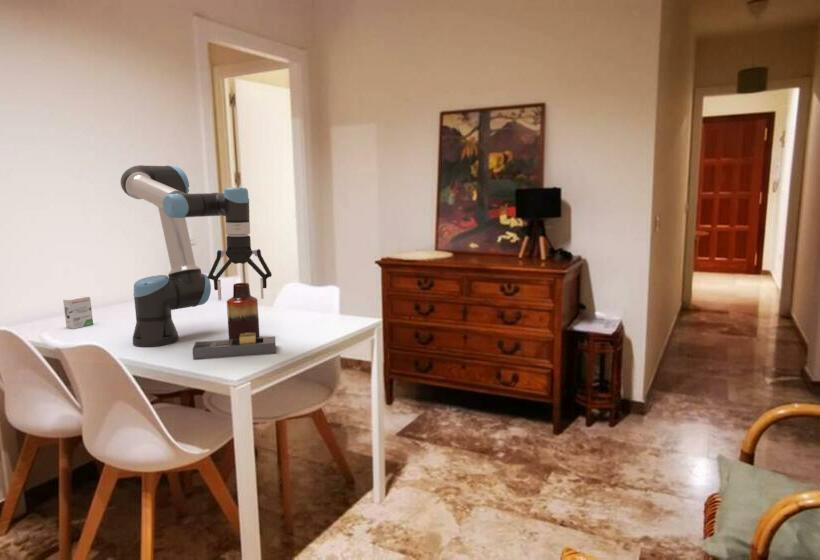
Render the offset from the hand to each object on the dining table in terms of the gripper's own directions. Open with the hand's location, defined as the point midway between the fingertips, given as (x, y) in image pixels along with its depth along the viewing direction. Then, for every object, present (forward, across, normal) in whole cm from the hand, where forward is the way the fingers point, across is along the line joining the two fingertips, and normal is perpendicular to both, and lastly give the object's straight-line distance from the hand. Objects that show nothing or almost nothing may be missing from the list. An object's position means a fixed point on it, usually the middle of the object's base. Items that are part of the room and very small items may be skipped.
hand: (241, 298), depth 192 cm
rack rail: (+18, -2, -2) cm, 18 cm away
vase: (+18, 0, +16) cm, 24 cm away
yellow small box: (+18, +2, -2) cm, 18 cm away
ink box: (+20, -66, +56) cm, 89 cm away
